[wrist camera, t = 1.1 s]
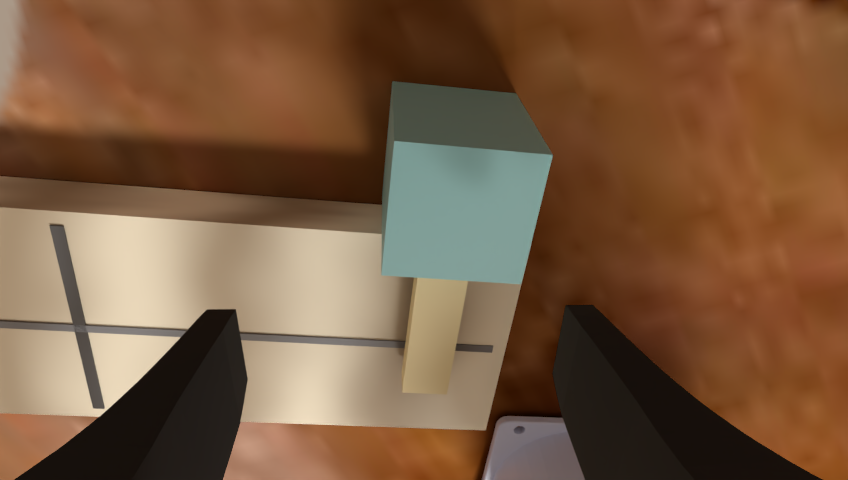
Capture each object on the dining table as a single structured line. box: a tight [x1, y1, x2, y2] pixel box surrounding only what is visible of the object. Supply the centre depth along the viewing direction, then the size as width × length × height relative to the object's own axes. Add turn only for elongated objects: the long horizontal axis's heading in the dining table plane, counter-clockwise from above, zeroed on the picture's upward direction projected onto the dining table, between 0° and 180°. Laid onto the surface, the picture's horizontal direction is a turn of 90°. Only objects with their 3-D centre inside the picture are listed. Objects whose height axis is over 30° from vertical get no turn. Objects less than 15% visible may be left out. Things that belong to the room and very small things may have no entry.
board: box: [0, 176, 531, 430], centre depth 22 cm, size 19×9×2 cm, turn 83°
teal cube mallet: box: [381, 81, 553, 395], centre depth 20 cm, size 4×10×5 cm, turn 174°
